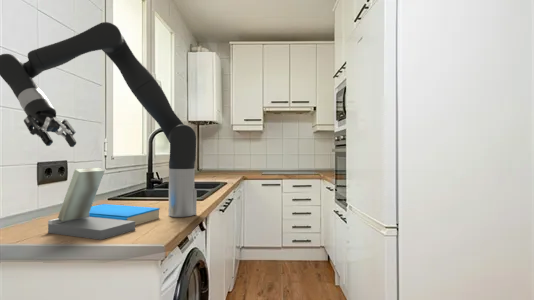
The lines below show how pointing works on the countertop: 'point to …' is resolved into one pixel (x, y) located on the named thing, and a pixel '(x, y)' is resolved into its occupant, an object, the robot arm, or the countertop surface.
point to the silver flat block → (81, 193)
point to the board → (90, 227)
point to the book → (125, 213)
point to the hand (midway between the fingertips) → (62, 144)
